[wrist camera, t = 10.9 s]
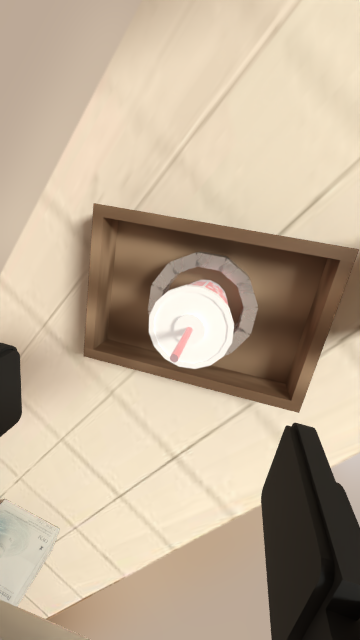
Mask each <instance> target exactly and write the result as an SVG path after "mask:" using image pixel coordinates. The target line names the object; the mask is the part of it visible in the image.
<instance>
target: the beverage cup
mask: <svg viewBox="0 0 360 640" xmlns="http://www.w3.org/2000/svg"><path fill="white" fill-rule="evenodd" d="M233 331H234V322H233V318H232V315H231V312H230V308H229V306H228V301H227V297H226V294H225V291H224V290H223V289H222V288H221V286H220V285H219V284H217V283H215V282H213V281H211V280H199V281H196V282H193V283H191V284H189V285H184V286H181V287H177V288H174V289H171V290H169V291H168V292H166V293H165V294H164V295H163V296H162V297H161V298H160V299H158V300H157V301H156V302H155V305H154V307H153V309H152V311H151V313H150V315H149V334H150V337H151V339H152V342H153V345H154V347H155V348H156V349H157V351H158V352H159V353H160V354H161V355H162V356H163V357H164V358H165V359H166V360H168V361H170V362H172V363H173V364H175V365H177V366H179V367H185V368H192V369H197V368H201V367H206V366H210V365H212V364H213V363H215V362H216V361H218V360H219V359H221V358H222V357H223V356H224V355H225V353H226V352H227V350H228V348H229V347H230V345H231V344H232V339H233Z"/></svg>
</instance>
